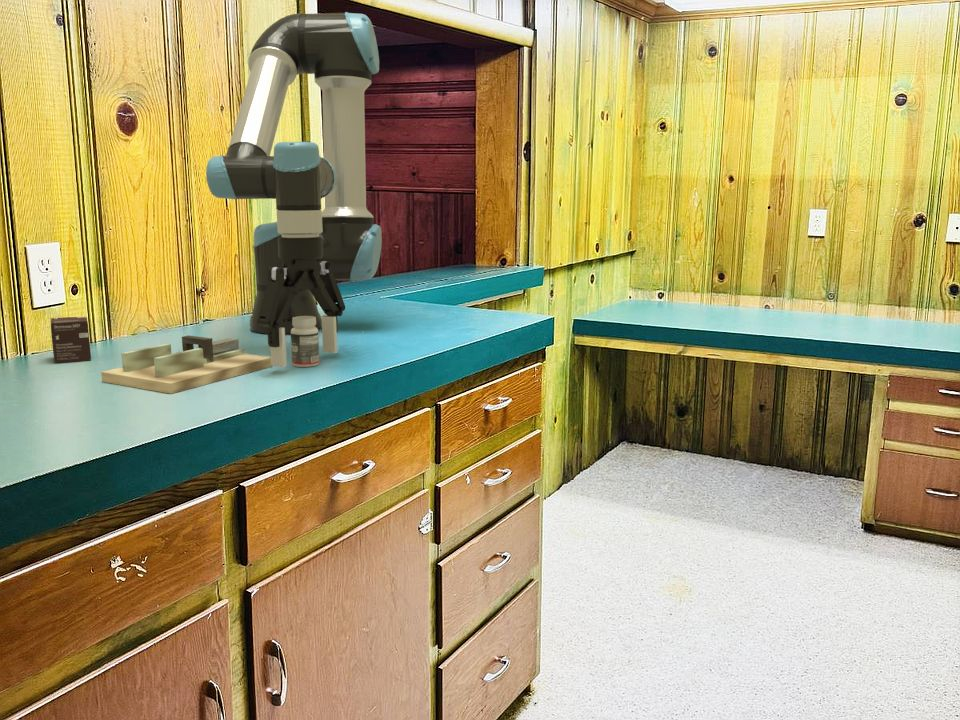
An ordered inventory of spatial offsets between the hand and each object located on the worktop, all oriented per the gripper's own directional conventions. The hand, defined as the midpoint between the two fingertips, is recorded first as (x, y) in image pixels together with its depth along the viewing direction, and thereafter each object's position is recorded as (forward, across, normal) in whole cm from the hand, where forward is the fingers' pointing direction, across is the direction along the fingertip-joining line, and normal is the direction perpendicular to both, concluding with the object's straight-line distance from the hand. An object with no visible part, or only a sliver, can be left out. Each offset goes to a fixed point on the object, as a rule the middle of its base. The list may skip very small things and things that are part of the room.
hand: (305, 358), depth 150 cm
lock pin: (-1, +7, -13) cm, 15 cm away
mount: (+1, +15, -12) cm, 19 cm away
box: (+1, +17, -40) cm, 43 cm away
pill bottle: (+1, 0, 0) cm, 1 cm away
